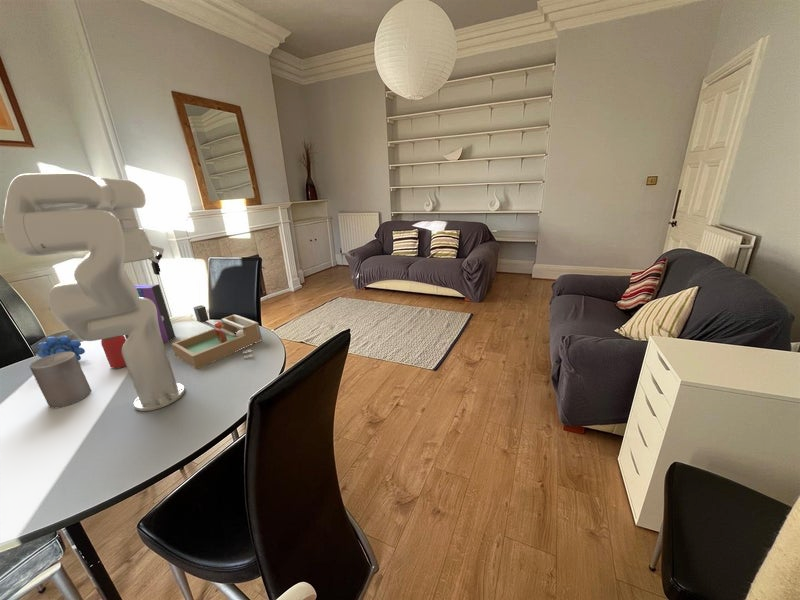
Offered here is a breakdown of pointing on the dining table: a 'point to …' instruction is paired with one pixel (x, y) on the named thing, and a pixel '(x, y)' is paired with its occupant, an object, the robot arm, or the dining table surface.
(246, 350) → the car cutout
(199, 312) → the striker
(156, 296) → the cereal box
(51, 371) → the pillar candle
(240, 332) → the ball
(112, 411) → the dining table surface
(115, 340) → the beer can
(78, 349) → the grapes
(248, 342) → the pitch
